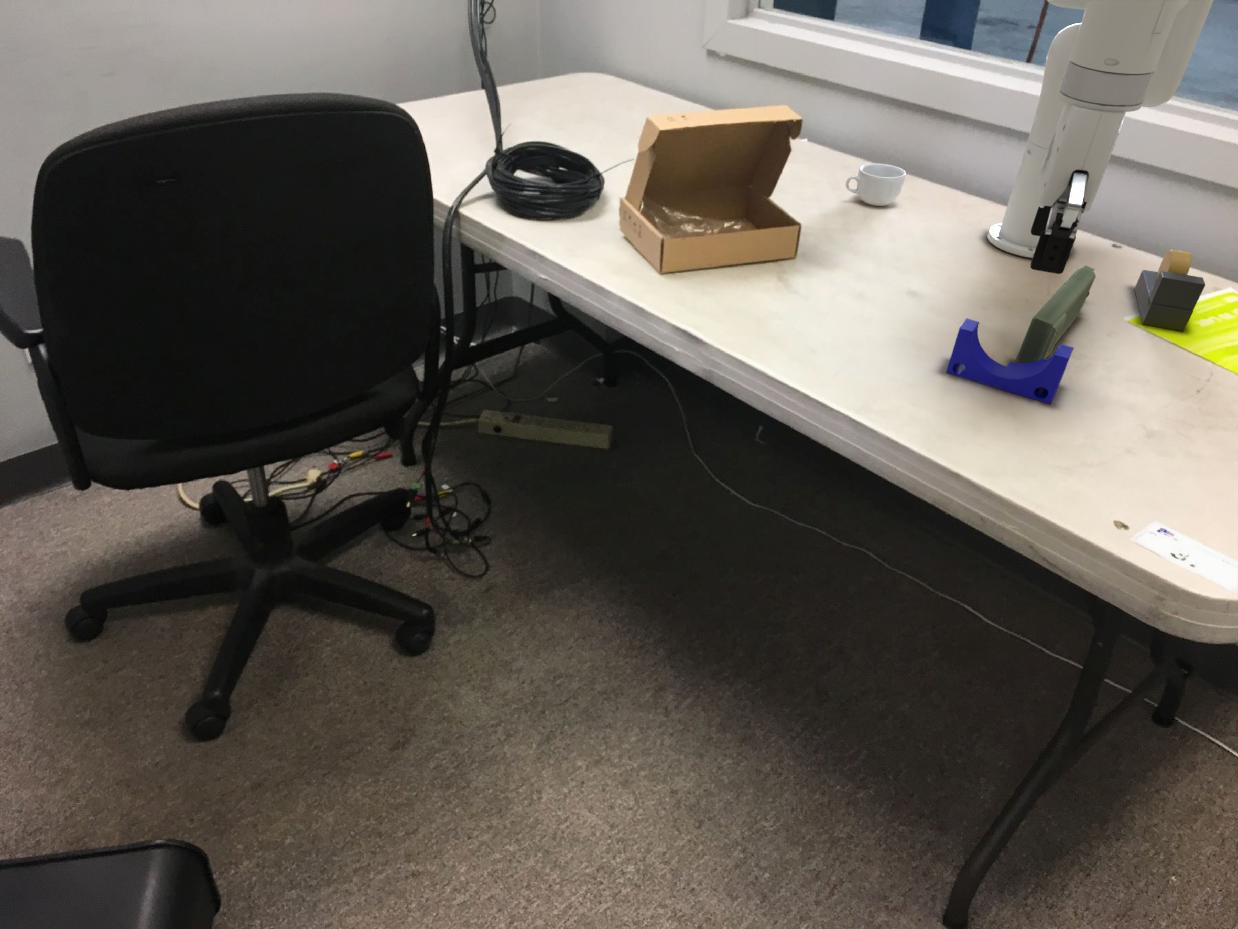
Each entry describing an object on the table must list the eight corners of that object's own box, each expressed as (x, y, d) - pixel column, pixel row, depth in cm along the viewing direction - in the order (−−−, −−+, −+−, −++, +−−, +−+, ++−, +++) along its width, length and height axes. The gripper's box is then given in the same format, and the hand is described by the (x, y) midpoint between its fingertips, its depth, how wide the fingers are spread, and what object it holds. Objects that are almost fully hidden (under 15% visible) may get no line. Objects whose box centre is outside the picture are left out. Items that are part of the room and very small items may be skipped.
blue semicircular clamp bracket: (1058, 387, 102) (1076, 342, 98) (1050, 404, 99) (1069, 358, 95) (956, 357, 107) (969, 313, 103) (945, 372, 104) (959, 327, 100)
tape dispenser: (1134, 288, 125) (1156, 235, 120) (1172, 295, 124) (1196, 242, 119) (1142, 324, 116) (1167, 268, 111) (1183, 331, 115) (1210, 275, 110)
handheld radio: (1009, 363, 106) (1068, 296, 122) (1036, 374, 105) (1092, 304, 121) (1028, 315, 102) (1087, 252, 118) (1057, 325, 100) (1112, 260, 116)
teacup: (888, 193, 154) (895, 162, 151) (906, 209, 148) (913, 177, 145) (835, 194, 153) (840, 163, 149) (850, 210, 147) (856, 178, 143)
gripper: (1060, 61, 91) (1010, 218, 101) (1064, 103, 78) (1006, 278, 88) (1138, 69, 89) (1079, 229, 99) (1156, 114, 76) (1086, 292, 86)
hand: (1045, 252), depth 94 cm, fingers open, 9 cm apart
